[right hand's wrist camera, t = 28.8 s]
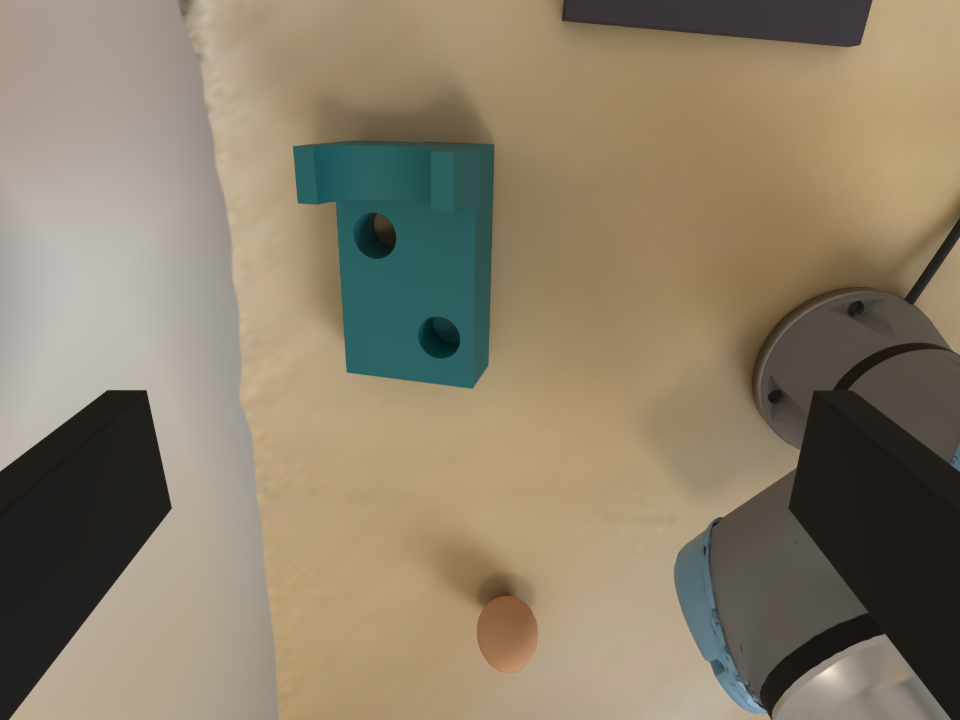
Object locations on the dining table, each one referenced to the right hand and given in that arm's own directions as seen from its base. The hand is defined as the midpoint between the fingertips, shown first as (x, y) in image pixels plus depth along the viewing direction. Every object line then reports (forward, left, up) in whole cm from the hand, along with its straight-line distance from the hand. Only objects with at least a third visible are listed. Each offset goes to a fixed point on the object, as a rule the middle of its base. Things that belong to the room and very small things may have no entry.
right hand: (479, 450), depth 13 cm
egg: (+33, +25, -41) cm, 58 cm away
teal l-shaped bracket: (+7, -2, -41) cm, 41 cm away
